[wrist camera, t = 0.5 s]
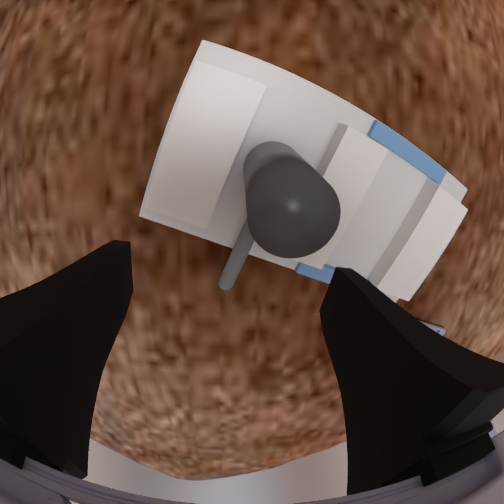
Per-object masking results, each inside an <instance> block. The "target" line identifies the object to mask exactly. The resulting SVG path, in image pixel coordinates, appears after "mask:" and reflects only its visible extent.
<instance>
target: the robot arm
mask: <svg viewBox="0 0 504 504" xmlns="http://www.w3.org/2000/svg"><path fill="white" fill-rule="evenodd" d="M132 293H133V279H132V265H131V246H130V242H127V241H119V240H113V241H111V242H109V243H107V244H105V245H103V246H101V247H100V248H98V249H96V250H94V251H93V252H91V253H89V254H88V255H86V256H84V257H83V258H81V259H79V260H78V261H76V262H74V263H73V264H71V265H69V266H67V267H65V268H64V269H62V270H60V271H58V272H57V273H55V274H53V275H51V276H49V277H48V278H46V279H44V280H42V281H40V282H38V283H35V284H33V285H31V286H29V287H27V288H25V289H22V290H20V291H17V292H15V293H12V294H9V295H7V296H4V297H2V298H0V504H71V502H70V501H69V500H71V501H73V502H76V503H79V504H194V503H184V502H176V501H169V500H163V499H157V498H151V497H146V496H141V495H136V494H132V493H127V492H123V491H119V490H115V489H111V488H108V487H104V486H100V485H97V484H94V483H91V482H88V481H85V480H82V479H83V478H85V477H86V476H87V470H88V451H89V439H90V432H91V424H92V418H93V412H94V407H95V402H96V397H97V392H98V388H99V384H100V380H101V376H102V372H103V369H104V366H105V363H106V361H107V358H108V356H109V353H110V351H111V349H112V346H113V344H114V341H115V339H116V337H117V334H118V332H119V330H120V327H121V325H122V323H123V321H124V318H125V316H126V313H127V310H128V307H129V304H130V300H131V297H132ZM320 317H321V324H322V329H323V334H324V338H325V341H326V344H327V348H328V351H329V354H330V357H331V361H332V364H333V367H334V370H335V374H336V377H337V380H338V384H339V388H340V392H341V397H342V404H343V410H344V417H345V426H346V436H347V452H348V483H347V496H343V497H338V498H332V499H326V500H320V501H312V502H304V503H295V504H504V430H503V431H502V432H500V433H498V434H497V435H496V430H495V428H494V425H493V423H492V421H491V420H492V419H493V418H494V417H495V416H496V415H497V414H498V413H499V412H500V411H501V410H502V409H503V408H504V363H501V362H498V361H495V360H493V359H490V358H487V357H484V356H482V355H480V354H477V353H475V352H473V351H470V350H468V349H466V348H464V347H462V346H460V345H458V344H456V343H455V342H453V341H451V340H449V339H447V338H445V337H444V336H443V335H444V333H445V332H446V330H445V328H443V327H440V326H436V325H433V324H430V323H427V322H423V321H420V320H417V319H416V318H415V317H413V316H412V315H411V314H409V313H408V312H407V311H405V310H404V309H403V308H401V307H400V306H399V305H398V304H396V303H395V302H394V301H393V300H391V299H390V298H389V297H388V296H386V295H385V294H384V293H383V292H381V291H380V290H379V289H378V288H377V287H375V286H374V285H373V284H372V283H370V282H369V281H368V280H367V279H365V278H364V277H363V276H361V275H360V274H359V273H357V272H356V271H354V270H353V269H351V268H343V267H336V268H335V270H334V273H333V276H332V279H331V282H330V284H329V287H328V290H327V292H326V295H325V298H324V300H323V303H322V306H321V308H320Z"/></svg>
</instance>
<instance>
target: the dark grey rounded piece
mask: <svg viewBox="0 0 504 504" xmlns="http://www.w3.org/2000/svg"><path fill="white" fill-rule="evenodd" d="M243 175H244V187H245V199H246V211H247V219H246V221H245V223H244V225H243V227H242V230H241V232H240V234H239V236H238V239H237V241H236V243H235V245H234V247H233V250H232V252H231V254H230V256H229V259H228V261H227V263H226V265H225V268H224V270H223V272H222V275H221V277H220V279H219V286H220V288H221V289H223V290H229V289H231V288H232V286H233V285H234V282H235V280H236V278H237V276H238V274H239V272H240V270H241V268H242V266H243V264H244V262H245V259H246V257H247V255H248V253H249V251H250V249H251V247H252V245H253V243H254V241H255V242H256V243H257V244H258V245H259V246H260V247H261V248H262V249H263V250H265V251H266V252H268V253H270V254H272V255H274V256H277V257H281V258H300V257H305V256H308V255H310V254H313V253H315V252H316V251H318V250H320V249H321V248H322V247H324V246H325V245H326V244H327V243H328V242H329V241H330V240H331V238H332V237H333V235H334V234H335V232H336V230H337V228H338V225H339V221H340V215H341V209H340V202H339V199H338V196H337V194H336V192H335V190H334V189H333V188H332V186H331V185H330V184H329V183H328V182H327V181H326V180H325V179H324V178H323V177H322V176H321V175H320V174H319V173H318V172H317V171H316V170H315V169H314V168H313V167H312V166H311V165H310V164H308V163H307V162H306V161H305V160H304V159H303V158H302V157H301V156H300V155H299V154H298V153H297V152H296V151H295V150H293V149H292V148H291V147H290V146H288V145H286V144H284V143H282V142H277V141H269V142H264V143H261V144H259V145H257V146H256V147H254V148H253V149H252V150H251V151H250V152H249V154H248V155H247V157H246V159H245V161H244V166H243Z"/></svg>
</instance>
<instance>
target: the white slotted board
mask: <svg viewBox="0 0 504 504" xmlns="http://www.w3.org/2000/svg"><path fill="white" fill-rule="evenodd" d="M269 141H277V142H282V143H284V144H286V145H288V146H290V147H291V148H292V149H293V150H295V151H296V152H297V153H298V154H299V155H300V156H301V157H302V158H303V159H304V160H305V161H306V162H307V163H308V164H310V165H311V166H312V167H313V168H314V169H315V170H316V171H317V172H318V173H319V174H320V175H321V176H322V177H323V178H324V179H325V180H326V181H327V182H328V183H329V184H330V185H331V186H332V188H333V189H334V190H335V192H336V194H337V196H338V199H339V202H340V209H341V215H340V221H339V225H338V228H337V230H336V232H335V234H334V235H333V237H332V238H331V240H330V241H329V242H328V243H327V244H326V245H325V246H324V247H322V248H321V249H320V250H318V251H316V252H315V253H313V254H310V255H308V256H305V257H300V258H281V257H277V256H274V255H272V254H270V253H268V252H266V251H265V250H263V249H262V248H261V247H260V246H259V245H258V244H257V243H256V242H255V241H254V243H253V245H252V247H251V249H250V251H249V253H248V254H250V255H253V256H255V257H258V258H261V259H264V260H267V261H270V262H273V263H276V264H279V265H282V266H284V267H287V268H290V269H293V270H295V271H296V273H299V274H302V275H305V276H307V277H310V278H313V279H316V280H319V281H322V282H325V283H328V284H330V282H331V279H332V276H333V273H334V270H335V268H336V267H343V268H351V269H353V270H354V271H356V272H357V273H359V274H360V275H361V276H363V277H364V278H365V279H367V280H368V281H369V282H370V283H372V284H373V285H374V286H375V287H377V288H378V289H379V290H380V291H381V292H383V293H384V294H385V295H386V296H388V297H389V298H390V299H391V300H393V301H394V302H395V303H396V302H397V301H398V299H399V298H401V299H403V300H406V301H409V300H410V299H411V297H412V296H413V295H414V293H415V292H416V291H417V289H418V288H419V287H420V285H421V284H422V282H423V281H424V280H425V278H426V277H427V275H428V274H429V272H430V271H431V269H432V268H433V267H434V265H435V264H436V262H437V261H438V259H439V258H440V256H441V254H442V253H443V251H444V250H445V248H446V247H447V245H448V243H449V242H450V240H451V238H452V237H453V235H454V234H455V232H456V230H457V228H458V227H459V225H460V223H461V222H462V220H463V218H464V216H465V214H466V213H467V211H468V209H467V208H466V207H464V206H463V205H462V204H461V201H462V199H463V197H464V195H465V193H466V191H467V190H468V189H467V188H466V187H465V186H463V185H462V184H461V183H460V182H459V181H458V180H457V179H456V178H454V177H453V176H452V175H451V174H450V173H449V172H447V171H446V170H445V169H444V168H443V167H441V166H440V165H439V164H438V163H436V162H435V161H434V160H433V159H431V158H430V157H429V156H428V155H426V154H425V153H424V152H422V151H421V150H420V149H419V148H417V147H416V146H415V145H413V144H412V143H410V142H409V141H408V140H406V139H405V138H403V137H402V136H401V135H399V134H398V133H396V132H395V131H393V130H392V129H390V128H389V127H387V126H386V125H384V124H383V123H381V122H380V121H378V120H377V119H375V118H374V117H372V116H370V115H369V114H367V113H366V112H364V111H362V110H361V109H359V108H357V107H356V106H354V105H352V104H351V103H349V102H347V101H345V100H344V99H342V98H340V97H338V96H336V95H334V94H333V93H331V92H329V91H327V90H325V89H323V88H321V87H319V86H317V85H315V84H313V83H311V82H309V81H307V80H305V79H303V78H301V77H299V76H297V75H295V74H293V73H290V72H288V71H286V70H284V69H281V68H279V67H277V66H274V65H272V64H270V63H267V62H265V61H262V60H260V59H257V58H255V57H252V56H250V55H247V54H244V53H241V52H239V51H236V50H233V49H230V48H227V47H224V46H221V45H218V44H215V43H212V42H208V41H205V40H202V42H201V44H200V46H199V48H198V51H197V53H196V55H195V57H194V59H193V61H192V64H191V66H190V68H189V71H188V73H187V75H186V77H185V80H184V82H183V85H182V87H181V89H180V92H179V94H178V97H177V99H176V102H175V105H174V107H173V110H172V112H171V115H170V118H169V120H168V123H167V126H166V129H165V132H164V134H163V137H162V140H161V143H160V146H159V149H158V152H157V155H156V158H155V161H154V165H153V168H152V171H151V174H150V178H149V181H148V185H147V188H146V192H145V195H144V199H143V203H142V206H141V210H140V214H139V216H140V217H143V218H146V219H149V220H152V221H155V222H157V223H160V224H163V225H166V226H169V227H172V228H175V229H178V230H180V231H183V232H186V233H189V234H192V235H195V236H198V237H201V238H203V239H206V240H209V241H212V242H215V243H218V244H221V245H224V246H227V247H229V248H232V249H233V247H234V245H235V243H236V241H237V239H238V236H239V234H240V232H241V230H242V227H243V225H244V223H245V221H246V219H247V211H246V199H245V187H244V175H243V166H244V161H245V159H246V157H247V155H248V154H249V152H250V151H251V150H252V149H253V148H254V147H256V146H257V145H259V144H261V143H264V142H269Z"/></svg>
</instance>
